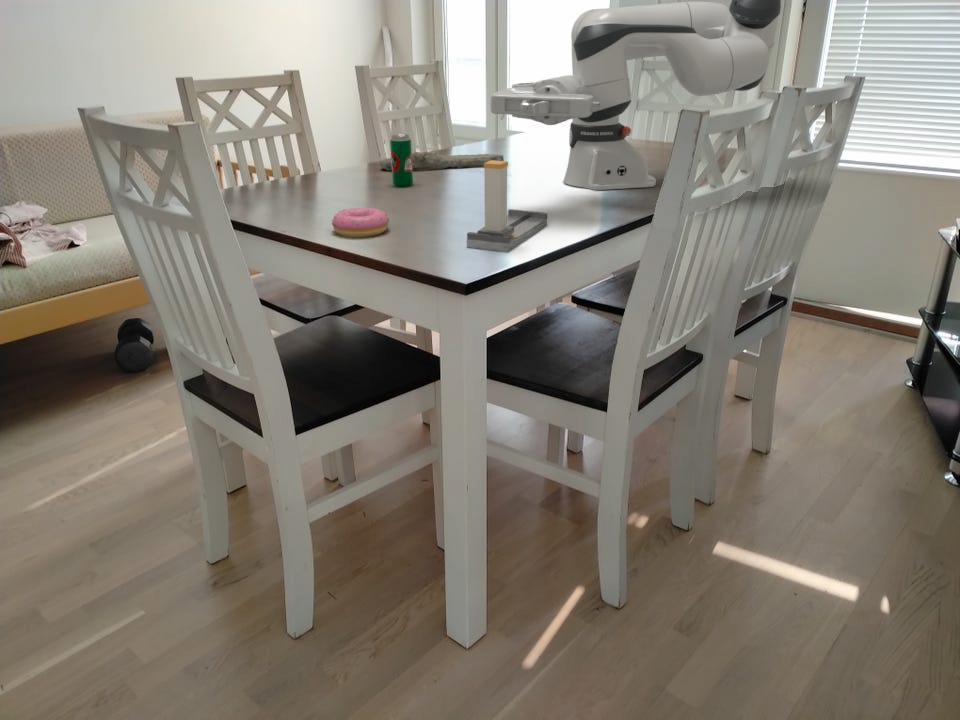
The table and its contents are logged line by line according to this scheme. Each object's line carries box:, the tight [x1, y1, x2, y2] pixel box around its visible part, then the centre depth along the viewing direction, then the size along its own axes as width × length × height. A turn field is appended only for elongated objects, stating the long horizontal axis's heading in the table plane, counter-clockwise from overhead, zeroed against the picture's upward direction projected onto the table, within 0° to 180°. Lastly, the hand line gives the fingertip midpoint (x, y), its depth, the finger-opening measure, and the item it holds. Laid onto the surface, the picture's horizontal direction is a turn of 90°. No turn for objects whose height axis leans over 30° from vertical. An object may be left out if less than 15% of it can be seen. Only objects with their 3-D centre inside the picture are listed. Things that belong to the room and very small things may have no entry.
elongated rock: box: [379, 151, 505, 172], centre depth 203 cm, size 35×5×10 cm
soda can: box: [389, 133, 414, 188], centre depth 179 cm, size 5×5×12 cm
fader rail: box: [466, 208, 548, 253], centre depth 138 cm, size 20×8×2 cm, turn 155°
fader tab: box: [477, 160, 514, 236], centre depth 130 cm, size 5×5×13 cm
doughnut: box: [331, 206, 390, 238], centre depth 142 cm, size 11×11×4 cm
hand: (527, 108), depth 137 cm, fingers closed
